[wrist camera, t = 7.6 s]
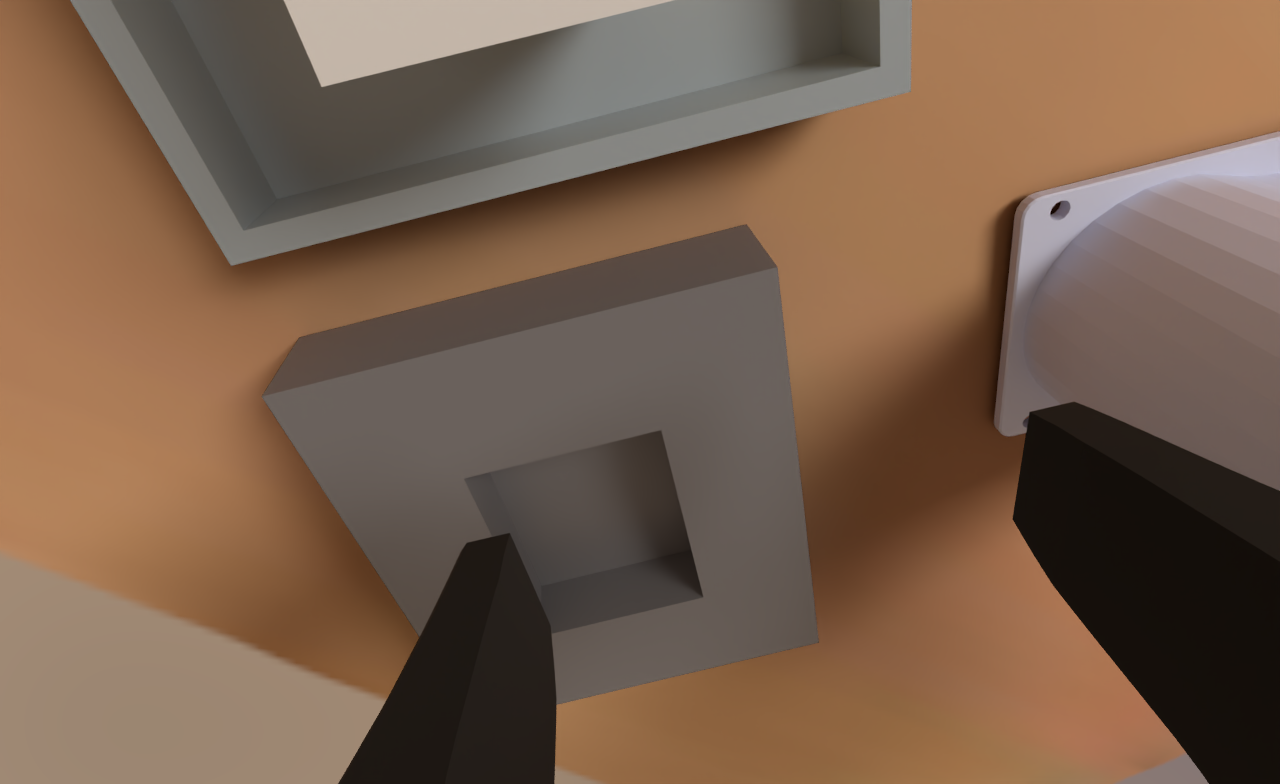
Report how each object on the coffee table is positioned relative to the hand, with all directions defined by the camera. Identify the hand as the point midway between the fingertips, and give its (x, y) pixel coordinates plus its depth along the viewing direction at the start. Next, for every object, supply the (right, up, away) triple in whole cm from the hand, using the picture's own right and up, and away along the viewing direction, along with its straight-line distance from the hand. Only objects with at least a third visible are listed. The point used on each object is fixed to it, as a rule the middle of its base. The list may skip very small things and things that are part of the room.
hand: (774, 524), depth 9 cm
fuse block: (-4, -1, +12) cm, 12 cm away
